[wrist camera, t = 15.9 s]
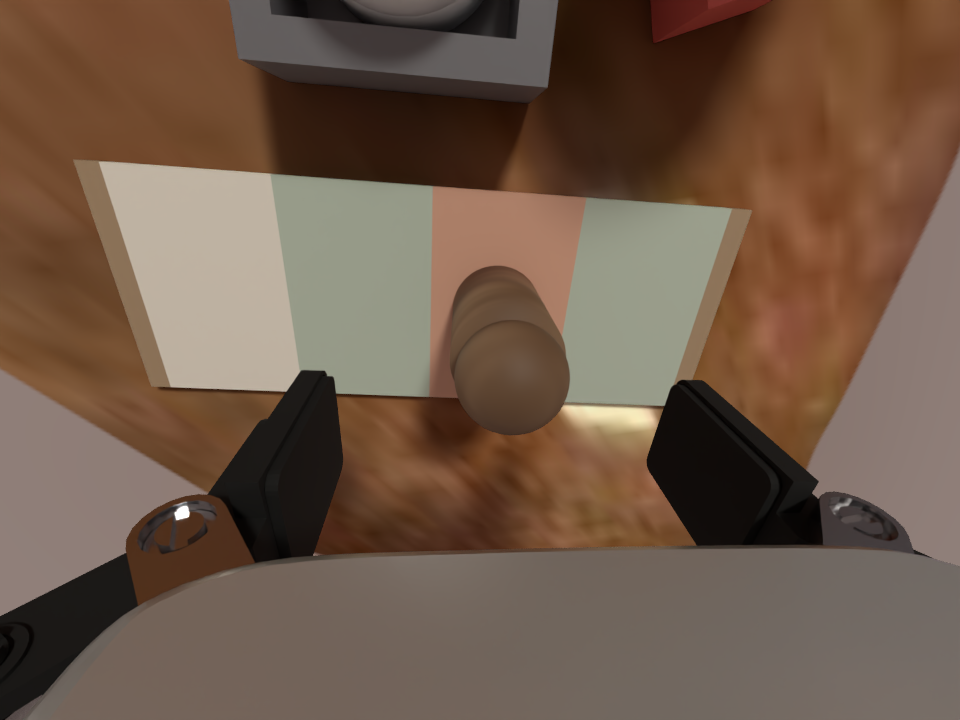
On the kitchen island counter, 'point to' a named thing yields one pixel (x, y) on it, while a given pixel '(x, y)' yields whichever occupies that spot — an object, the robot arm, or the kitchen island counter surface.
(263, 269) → the game board
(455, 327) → the walnut pawn
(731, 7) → the red die
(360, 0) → the dome
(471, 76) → the base
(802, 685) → the robot arm
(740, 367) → the kitchen island counter surface
